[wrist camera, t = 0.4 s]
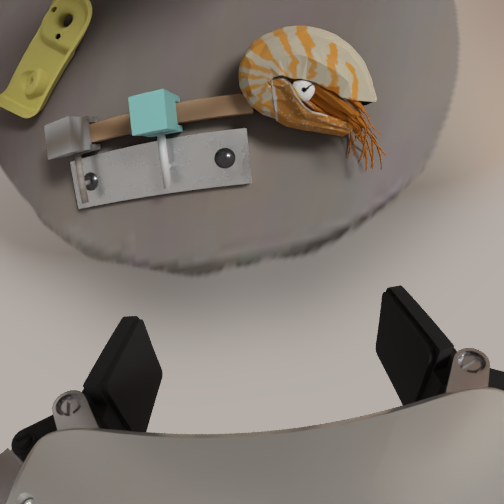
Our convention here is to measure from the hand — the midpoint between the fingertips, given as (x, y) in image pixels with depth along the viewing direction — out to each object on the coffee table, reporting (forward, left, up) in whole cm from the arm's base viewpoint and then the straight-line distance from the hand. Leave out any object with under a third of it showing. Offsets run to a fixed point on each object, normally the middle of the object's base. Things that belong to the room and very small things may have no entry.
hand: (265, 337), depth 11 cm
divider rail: (-8, -12, -29) cm, 33 cm away
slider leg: (-8, -10, -29) cm, 32 cm away
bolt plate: (-5, -12, -29) cm, 32 cm away
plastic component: (-27, -28, -30) cm, 49 cm away
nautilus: (-11, +9, -30) cm, 33 cm away
